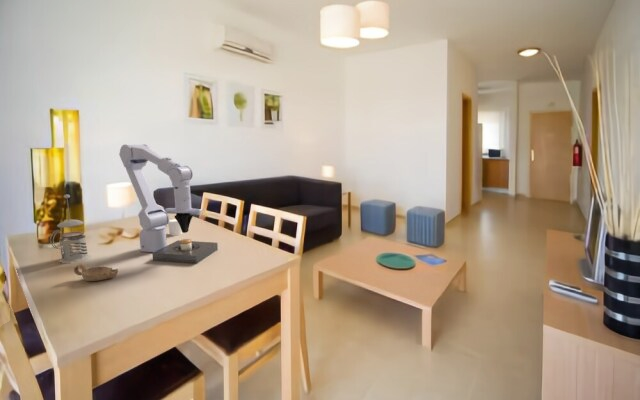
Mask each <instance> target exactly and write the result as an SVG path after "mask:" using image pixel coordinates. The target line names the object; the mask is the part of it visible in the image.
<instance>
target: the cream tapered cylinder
mask: <svg viewBox="0 0 640 400" xmlns="http://www.w3.org/2000/svg"><path fill="white" fill-rule="evenodd" d="M167 227H168V231H169V235H170V236H173V237H174V236H175V237H176V236H181V235H183V233H182V230H181V227H180V225H179V223H178V222H177V220H176V219H175V218H173V219H172V218H170V219H169V223H168V224H167Z"/></svg>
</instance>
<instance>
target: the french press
mask: <svg viewBox="0 0 640 400" xmlns="http://www.w3.org/2000/svg"><path fill="white" fill-rule="evenodd" d="M70 197H71V195H70V194H66V193H65V194H64V195H63V198H65V199H66V203H67V204H66V205H67V210H68V212H70V208H69V207H70V206H69V200H68V199H69V198H70ZM70 215H71V214H70V213H68V218H69V219H67V220H63V221H61V222H59V223H58V224H57V225H56V227H57V228H62V229H63V228H64V229H67V228H70V230H71V231H70V232H65V233H62V230H60V229H56V230H54V231H53V232H52V233H51V234H50V238H49V241H50V244H51V246H52V247H53V248H55V249H57V250H59V251H60V254H61V258H60V260H59V261H60V262H62V263H61V264H72V263H71V262H74V263H79V262H83V261H86V260H89V259H90V258H91V257H92V255H91V254H89V253H88V246H87V240H86V235H84V233H85V232H83V231H73V230H72V227H78V226H81V225H84V223H85V221H82V220H80V219H72V218H71V216H70ZM53 234H54V235H53ZM57 234H60V236H59V237H60V239H59V245H60V247H57V246H56V244H55V241H54V240H55V236H56V235H57ZM52 237H53V238H52ZM85 259H86V260H85ZM82 260H83V261H82ZM78 261H79V262H78ZM60 262H59V263H60Z"/></svg>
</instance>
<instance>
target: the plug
mask: <svg viewBox="0 0 640 400" xmlns="http://www.w3.org/2000/svg"><path fill="white" fill-rule="evenodd" d="M179 241H180V244H181V250H189V249H192V244H191V241H192V239H191V238H183V239H181V240H179Z"/></svg>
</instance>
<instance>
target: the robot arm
mask: <svg viewBox="0 0 640 400" xmlns="http://www.w3.org/2000/svg"><path fill="white" fill-rule="evenodd" d="M118 154H119V158H120V161H121V163H122V165H123V167H124V168H125V170H126V172H127V175H128V177H129V180H130V183H131V184H132V187H133V189H134V192H135V194H136V197H137V199H138V201H139V203H140V206H141V210H140V211H139V213H138V215H137V216H138V219H139V225H140V226H141V230H140V232H139V235H138V236H139V246H140V249H139V250H138V251H139V252H143V253H144V252H146V253H147V252H149V253H153V252H155V251H157V250H159V249H162V248H164V247H166V246H168V245H169V244H167V233H166V228H168V223H169V220H170V217H169V215H170V214H173V215H174V219H176V220H177V222H178V223H179V225H180V227H181V230H182V233H184V234H186V233H188V232H189V227H190V224H191V221H192V219H193V217H194V215H197V216H201V215H203V209H201V208H200V209H199V208H193V207H192V195H191V184H190V183H191V182H190V181H191V180H192V179H193V170H192V168H190V167H189V166H188V165H181V164H180V163H178V162H176V161H174V160H173V159H172V157H170V156H165V157H162V156H161V155H159V154H158V153H156V152H155V151H154V150H153V149H152V147H151V146H149V145H147V144H123V145H121V147H120V149H119V153H118ZM148 162H150V163H152V164H154V165H156V166H157V169H158V170H159V171H161V172H162V173H163V174H166V175H167V176H168V177H169V178H168V179H170V181H171V185H172V187H173V195H174V204H175V205H174V207H168V208H167V207H166V208H165V207H164V206H162V205H159V204H157V203H156V199H155V197H154V195H153V193H152V190H151V187H150V185H149V184H148V181H147V179H146V176H145V174H144V171H143V168H144V167H146V165H147V163H148Z"/></svg>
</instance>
